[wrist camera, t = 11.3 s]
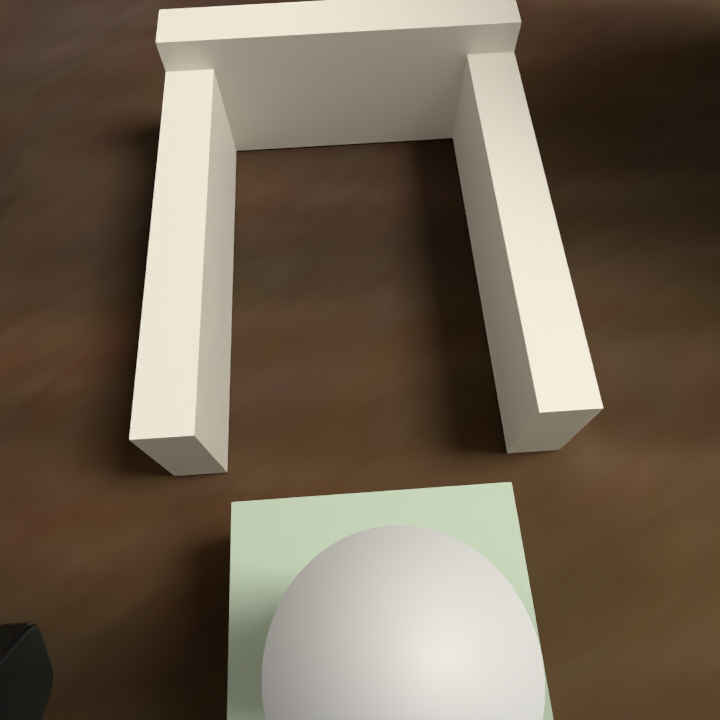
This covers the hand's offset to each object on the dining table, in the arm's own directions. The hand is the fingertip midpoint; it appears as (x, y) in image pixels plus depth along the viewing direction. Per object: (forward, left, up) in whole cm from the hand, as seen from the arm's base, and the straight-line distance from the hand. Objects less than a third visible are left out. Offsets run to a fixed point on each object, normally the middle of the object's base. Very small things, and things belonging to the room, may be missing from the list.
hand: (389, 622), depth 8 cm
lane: (+5, +9, -8) cm, 13 cm away
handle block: (0, 0, -8) cm, 8 cm away
